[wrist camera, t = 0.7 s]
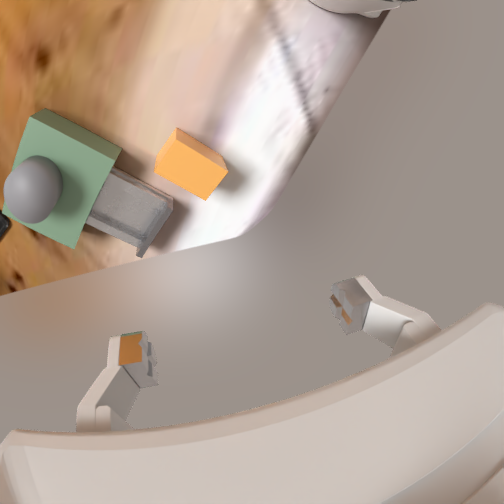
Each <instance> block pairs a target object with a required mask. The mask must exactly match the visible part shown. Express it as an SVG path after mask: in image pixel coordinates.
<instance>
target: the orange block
mask: <svg viewBox="0 0 504 504" xmlns="http://www.w3.org/2000/svg"><path fill="white" fill-rule="evenodd" d="M154 172H155V173H157V174H158V175H160V176H162V177H164V178H166V179H167V180H169V181H171V182H173V183H175V184H176V185H178V186H180V187H182V188H184V189H185V190H187V191H189V192H191V193H193V194H194V195H196V196H198V197H200V198H202V199H203V200H205V201H206V200H207V198H208V197H209V196H210V194H211V193H212V192H213V191H214V189H215V188H216V187H217V185H218V184H219V183H220V182H221V180H222V179H223V178H224V177H225V175H226V174H227V173H228V169H227V167H226V165H225V162H224V160H223V157H222V156H221V155H219V154H218V153H216V152H215V151H213V150H212V149H210V148H209V147H207V146H205V145H204V144H202V143H201V142H199V141H198V140H196V139H194V138H193V137H191V136H190V135H188V134H186V133H185V132H183V131H181V130H180V129H178V128H176V129H175V130H174V132H173V133H172V134H171V136H170V137H169V139H168V140H167V142H166V143H165V145H164V146H163V147H162V149H161V150H160V152H159V153H158V155H157V157H156V163H155V168H154Z"/></svg>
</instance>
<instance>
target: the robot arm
mask: <svg viewBox="0 0 504 504" xmlns="http://www.w3.org/2000/svg"><path fill="white" fill-rule="evenodd" d="M310 1H311V2H312V3H314V4H316V5H317V6H319V7H321V8H323V9H326V10H328V11H332V12H336V13H345V14H347V13H358V14H361V15H363V16H366V17H369V18H376V17H378V16H379V15H380V14H381V12H382V11H383V10H389V9H396V8H399V7H400V4H401V3H402V2H410V1H414V0H310ZM331 291H332V292H333V295H332V296H331V298H330V308H331V311H332V313H333V315H334V316H335V318H337V319H339V320H340V326H341V328H342V329H343V331H344V332H345V334H346V335H348V334H351V333H353V332H357V331H359V330H362V329H363V331H365V332H366V333H368V334H370V335H371V336H373V337H375V338H376V339H378V340H380V341H381V342H383V343H385V344H386V345H388V346H390V347H391V348H393V351H392V353H391V355H390V358H389V359H387V360H385V361H383V362H381V363H379V364H376V365H374V366H372V367H370V368H367V369H365V370H363V371H361V372H358V373H356V374H353V375H351V376H349V377H346V378H344V379H341V380H338V381H336V382H333V383H331V384H328V385H326V386H323V387H320V388H317V389H314V390H312V391H309V392H306V393H303V394H300V395H297V396H294V397H291V398H288V399H284V400H281V401H278V402H274V403H271V404H267V405H264V406H260V407H256V408H253V409H249V410H245V411H241V412H237V413H233V414H228V415H224V416H219V417H215V418H210V419H205V420H200V421H195V422H189V423H182V424H176V425H169V426H162V427H154V428H146V429H136V430H135V429H134V428H133V427H131V426H130V425H129V424H128V423H127V422H126V419H127V417H128V415H129V413H130V410H131V408H132V406H133V404H134V402H135V400H136V397H137V395H138V394H139V392H140V388H145V387H151V386H156V385H158V375H157V371H156V369H155V368H154V367H155V366H156V364H157V361H156V360H157V359H156V354H155V350H154V347H153V345H152V344H151V343H150V342H148V337H147V335H146V333H145V331H140V332H134V333H128V334H122V335H116V336H111V338H110V341H109V351H108V362H107V368H104V369H103V370H102V372H101V374H100V375H99V376H98V378H97V379H96V381H95V382H94V383H93V385H92V386H91V388H90V389H89V391H88V392H87V393H86V395H85V396H84V398H83V399H82V401H81V402H80V404H79V405H78V407H77V422H76V432H50V431H33V430H24V429H14V430H12V431H11V432H10V433H9V434H8V435H7V437H6V438H5V439H4V440H3V442H2V443H1V444H0V504H504V307H503V306H500V305H498V304H495V303H492V302H487V303H484V304H483V305H481V306H480V307H478V308H477V309H475V310H474V311H472V312H471V313H469V314H468V315H466V316H465V317H463V318H461V319H460V320H458V321H457V322H455V323H453V324H452V325H450V326H448V327H447V328H445V329H444V330H441V329H440V328H439V327H438V326H437V324H436V323H435V322H434V321H433V319H432V318H431V317H430V316H429V315H428V314H427V313H426V312H423V311H421V310H418V309H416V308H414V307H411V306H409V305H406V304H404V303H401V302H399V301H397V300H394V299H391V298H389V297H387V296H384V297H382V295H381V294H380V293H379V292H378V291H377V289H376V288H375V287H374V286H373V285H372V284H371V283H370V281H369V280H368V279H367V278H366V277H365V276H364V275H360V276H356V277H353V278H350V279H347V280H343V281H340V282H337V283H334V284H333V285H332V288H331Z"/></svg>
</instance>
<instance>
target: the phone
mask: <svg viewBox="0 0 504 504" xmlns="http://www.w3.org/2000/svg"><path fill="white" fill-rule="evenodd" d="M8 226H9V220H8V218H7V217H6V216H5V215H4V214H3V213H2V212H1V211H0V237H1V236H2V234H3V233H4V232H5V230H6V229H7V227H8Z"/></svg>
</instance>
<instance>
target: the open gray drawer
mask: <svg viewBox="0 0 504 504" xmlns="http://www.w3.org/2000/svg"><path fill="white" fill-rule="evenodd" d="M172 212H173V198H172V197H171V196H169V195H167V194H165V193H163V192H161V191H159V190H158V189H156V188H154V187H152V186H150V185H148V184H146V183H144V182H143V181H141V180H139V179H137V178H135V177H133V176H131V175H129V174H127V173H126V172H124V171H122V170H120V169H118V168H116V167H114V166H113V167H112V168H111V170H110V172H109V174H108V176H107V178H106V180H105V183H104V185H103V187H102V189H101V191H100V193H99V195H98V197H97V199H96V201H95V203H94V205H93V208H92V210H91V212H90V214H89V216H88V219H87V221H86V222H85V223H86V224H88V225H91V226H93V227H95V228H97V229H99V230H101V231H103V232H105V233H107V234H110V235H112V236H114V237H116V238H118V239H120V240H122V241H125V242H127V243H129V244H131V245H133V246H136V247H137V252H136V256H138V257H140V258H142V257H143V255H144V253H145V252H146V250H147V249H148V247H149V246H150V244H151V243H152V241H153V240H154V238H155V237H156V235H157V234H158V232H159V231H160V229H161V228H162V226H163V225H164V223H165V222H166V220H167V219H168V217H169V216H170V214H171V213H172Z"/></svg>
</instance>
